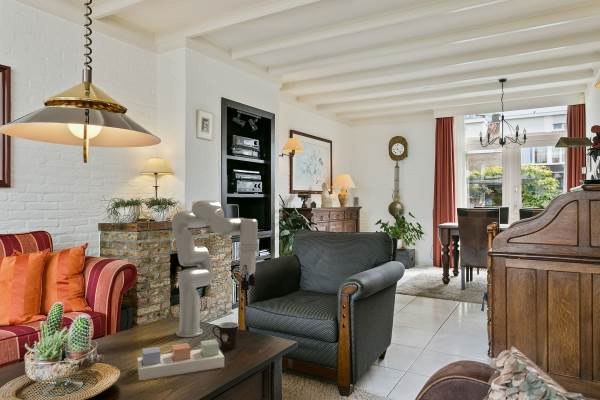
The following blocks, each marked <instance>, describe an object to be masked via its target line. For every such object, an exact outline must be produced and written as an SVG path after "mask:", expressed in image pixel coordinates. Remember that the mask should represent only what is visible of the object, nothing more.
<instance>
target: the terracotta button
mask: <svg viewBox="0 0 600 400" xmlns="http://www.w3.org/2000/svg"><path fill="white" fill-rule="evenodd" d="M191 349H192V348H191V346H190V344H189V343H188V342H184V343H177V344H172V345H171V353H172V359H173V361H180V360H187V359H190V351H191Z"/></svg>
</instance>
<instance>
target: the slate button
mask: <svg viewBox="0 0 600 400" xmlns="http://www.w3.org/2000/svg"><path fill="white" fill-rule="evenodd" d="M141 354H142V355H141V357H142V364H143V366H146V365H153V364H159V363H160V355H161V349H160V346H153V347H147V348H146V347H145V348H142V349H141Z"/></svg>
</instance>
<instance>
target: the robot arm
mask: <svg viewBox="0 0 600 400" xmlns="http://www.w3.org/2000/svg"><path fill="white" fill-rule="evenodd" d="M258 225H259V223H258V220H257V219H256V218H245V217H226V218H225V213H224V209H223V208H222V205H221V203H220V202H218V201H216V200H198V201H196V202H194V203H193V204H192V206H191V210H183V211H177V212H176V213H175V214H174V215H173V217H172V220H171V228H172V232H173V235H174V238H175V242H176V243H175V244H176V250H177V259H178V263H179V265H180V266H183V267H192V266H197V267H192V268H186V269H183V270H181V271H180V272H179V273H178V275H177V283H178V284H177V285H178V288H179V289H178V290H179V329H177V330H176V331H175V335H176V337H177V336H178V337H180V338H193V337H198V336H201V335H202V334H203V333H204V331H203V329H202V328H200V323H201V322H200V321H201V320H200V319H201V317H200V315H201V313H200V312H201V310H200V309H201V297H200V293H199V292H198V290H197V288H201V287H207V286H209V285H211V283H213V282H212V281H213V278H214V274H213V266H212V259H211V254H210V251H209V250H208V248H207V247H206V246H204V245H195V240H194V239H195V238H194V236H193V234H192V233H191V231H190V230H189V229H196V228H197V229H198V228H200V229H201V228H205V227H208V226H209V227H210V229H211V230H212V231H214V232H215V233H216V234H219V235H222V236H227V237H228V236H239V252H240V256H239V266H238V267H239V268H238V269H239V272H238V273H239V276H240V277H241V279H240V290H241V291H249V289H250V287H254V286H255V284H256V283H255V282H256V265H257V261H256V260H257V259H256V252H258V234H259V233H258V232H259V231H258V229H259V228H258V227H259V226H258Z"/></svg>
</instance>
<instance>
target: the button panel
mask: <svg viewBox="0 0 600 400" xmlns="http://www.w3.org/2000/svg"><path fill="white" fill-rule="evenodd" d="M136 361H137V362H136V363H137V364H136V365H137V366H136V368H137V376H138V380H139V381H145V380H150V379H155V378H164V377H168V376H169V377H171V376H176V375H182V374H189V373H195V372H201V371H207V370H213V369H219V368H225V355H224V354H223V352H222V350H221V349H219V355H215V356H208V357H202V355H201V348H198V349H192V350H191V351H190V359H187V360H180V361H173V359H172V352H169V353H164V354H163V353H160V363H159V364H153V365H146V366H143V364H142V356H140V357H137V358H136Z"/></svg>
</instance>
